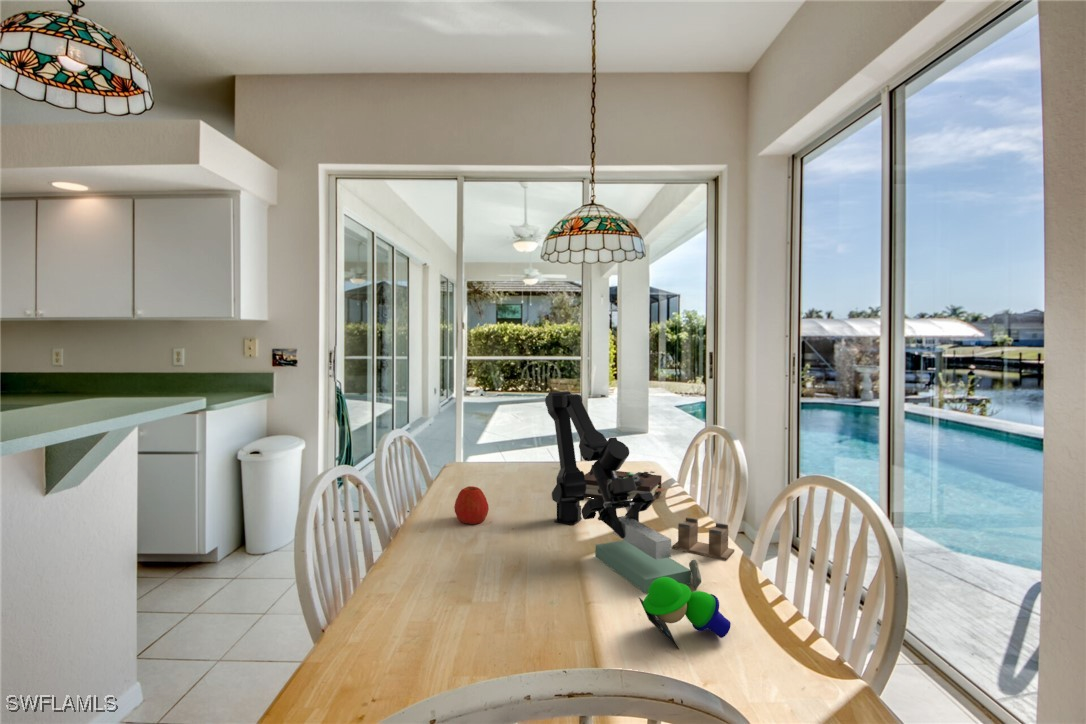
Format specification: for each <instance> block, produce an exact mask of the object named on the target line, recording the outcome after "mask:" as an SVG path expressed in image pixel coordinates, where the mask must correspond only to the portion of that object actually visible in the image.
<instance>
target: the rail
mask: <svg viewBox="0 0 1086 724" xmlns="http://www.w3.org/2000/svg"><path fill="white" fill-rule="evenodd" d="M617 517H618V519H619V522H620V524H621V526H622V529H623V532H624V535H625V537H624V538H621V537H620V536H619V535H618V534H617V533H616V532H615V531H614V530H613V534H614V535H616V536H617V537H619V538H621V539H622V540H625V541H627V542H628V543H630V544H631V545H633V546H635V547H636V548H638V549H639V550H641V551H643V552H644V553H646V554H648V555H649V556H651V557H652V558H654V559H656V560H657V559H663V558H668V557H669V558H672V538H671V537H668V536H665V535H664V534H662V533H661V532H659V531H656V530H655V529H653V528H651V527H649V526H648V525H645V524H644V523H642V522H640V521H639V522H638V521H636V520H635V519H633V518H631V517H629V516H625V515H622V516H621V515H620V516H617Z"/></svg>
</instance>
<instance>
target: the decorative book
mask: <svg viewBox="0 0 1086 724" xmlns="http://www.w3.org/2000/svg"><path fill="white" fill-rule="evenodd" d="M616 473H617V475H618V477H619V478H620V477H622V478H629V476H630V475H633V474H638V476H639V478H640V481H641V486H640V487H637V490H636V491H635V490H633V491H631V495H630V496H628V497H627V498H628V499H633V498H634V497H635V495H636V494H637V493H640V492H647V491H649V492H651V493H652V495H653V497H654V499H655V500H654V502H655V501H656V500H657V498H659V497H660V495H661V494H662V492H665V491H666V490H667V489H666V488H662V479H663V477H662V475H658V474H654V473H656V471H653V470H652V471H643V472H641V471H637V472H631V471H621V470H616ZM584 478H585V483H586V487H587V488H586V493H585V497H591V498H602V499H603V496H602V494H599V493H598V489H599V486H598V484H597V481H596V478H595V476H594V475H590V471H588V472H586V473H584ZM591 498H590V499H591Z"/></svg>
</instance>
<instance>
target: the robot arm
mask: <svg viewBox="0 0 1086 724" xmlns="http://www.w3.org/2000/svg"><path fill="white" fill-rule="evenodd" d="M544 399H545V400H544V403H545V406H546V408H547V409H546V410H547V413H548V415H549V416H550V417H551V419H552V421H554V427H555V428H554V429H555V435H556V442H557V443H556V444H557V451H558V459H559V470H558V471H559V472H558V474H557V475H556V485H555V486H554V488H553V490H552V492H551V499H552V501H554V502H555V503H556V518H555V519H554V520H553V521H554V522H555V523H559V524H566V525H573V526H575V525H576V524H577V523H579V521H580V522H581V520H582V519H583V520H585V521H586V520H592V519H595V518H596V516H597V513H598V515H599V516H598V517H597V520H598V521H602V522H603V523H604V524H605V525H607V526H608V527H609V528H610V529H611V530H612V531H613V532H614V531H615V532H616V533H617V534H618V535H619V536H620V537H621V539H622V538H624V537H625V535H624V532H623V529H622V526H621V524H620V522H619V519H618V517H619V516H618V515H617V514H618V513H617V509H623V508H624V509H625V510H626V513H625V515H624V516H629V517H631V518H633V519H635V520H636V521H638V522H640V516H639V515H640V512H645V511H647V510H648V509H649V508H650V507H651V505H652V504H653V503H654V502H655V501H656V500H655V499H654V497H653V495H652V493H651V492H649V491H647V492H640V493H637V494H636V495H635V497H634V498H633V499H628V498H627V497H628V496H630V495H631V491H633V490H635V491H636V490H637V487H640V486H641V481H640V478H639V476H638V474H633V475H630V476H629V478H622V477H620V478H619V477H618V475H617V473H616V471H619V469H620V468H622V465H623V464H624V463H625V461H626V460H628V457H629V455H630V448H629V447H628V446H627V445H626V444H625V443H624V442H622V441H621V440H618V438H617V437H616V436H615V437H609V438H608V440H607V438H606V437H605V436H604V434H603V433H601V432H600V431H598V430H597V429H596V428H595V426H594V424H593V421H592V419H591V417H590V416H589V414H588V411H587V410H586V407H585V406H584V403H583V397H582V396H581V395H580V394H578V393H571V392H570V391H568V390H565V391H564V390H562V391H550V392H549V393H548V394H547V395H546V396H545V398H544ZM571 421H572V424H573V427H574V428H575V430H576V433H577V435H578V437H579V444H578V448H579V451H580V452H579V453H580V456H581V457H582V459H583V460H584V461H585V462H594V461H595V462H594V463H593V464H591V468H590V471H589V472H590V475H594V476H595V478H596V481H597V484H598V486H599V489H598V493H599V494H602V496H603V499H604V500H603V499H602V498H594V499H591V498H587V501H586V502H585V503H584V505H583V506H582V505H580V504H581V503H580V502H583V501H585V499H586V498H585V493H586V488H587V487H586V483H585V478H584V475H585V473H584V471H582V470H580V468H579V467H578V465H577V461H576V454H575V453H576V452H575V445H574V439H573V437H574V436H573V430H572V424H571ZM654 500H655V501H654ZM596 512H597V513H596ZM619 536H618V537H619ZM620 537H619V538H620Z"/></svg>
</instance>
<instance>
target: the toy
mask: <svg viewBox="0 0 1086 724" xmlns="http://www.w3.org/2000/svg"><path fill="white" fill-rule="evenodd" d="M637 598H638V599H639V601H640V604H641V606H642V608H643V610H644V612H645V614H646V616H647V619H648V621H649V622H650V623H652V625H654V626H655V628H657V629H658V631H659V632H661V633H662V634H663V636H665V637H666V639H668V640H669V641H670V642H671V643H672V644H673V646H675V647H676V648H677V649H678V650H680V648H679V646H678V644H677V642H676V640H675V639H674V637H673V634H672V633H671V630H670V628H669V627H668V624H675V623H677V622H679V621H680V622H681V620H682V619H683V618H684V616H685V617H686V619H687V620H688V622H689V623H691V625H692V628H693V629H695V631H698V632H703V631H706V630H708V631H710V632H712V633H713V634H714V635H716V636H718V637H719V638H722V639H723V638H725V637H726V636H727V635H728V633H729V632H730V630H731V625H732V624H731V621H730V620H729V619H727V618H726V617H725V616H724V614H722V613H721V612H720V610H719V609H720V601H719V598H718V597H717V596H716V595H714V594H712V593H708V592H706V591H702V590H694V591H692V590H691V588H690V587H689V586H688V584H687V585H685V584H682V583H678V582H677V581H675V580H674V579H672V578H669V577H660V578H658V579H656V580H654V581H653V582H652V583H651V585H650V587H649V590H648V593H647V595H646V596H645V597H644V599H642V598H641V597H640V596H639V595H638V596H637Z"/></svg>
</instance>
